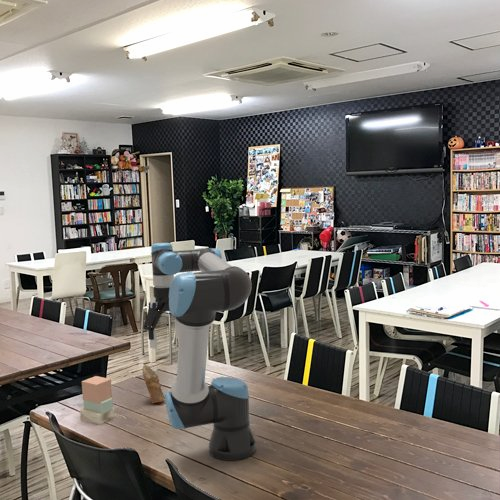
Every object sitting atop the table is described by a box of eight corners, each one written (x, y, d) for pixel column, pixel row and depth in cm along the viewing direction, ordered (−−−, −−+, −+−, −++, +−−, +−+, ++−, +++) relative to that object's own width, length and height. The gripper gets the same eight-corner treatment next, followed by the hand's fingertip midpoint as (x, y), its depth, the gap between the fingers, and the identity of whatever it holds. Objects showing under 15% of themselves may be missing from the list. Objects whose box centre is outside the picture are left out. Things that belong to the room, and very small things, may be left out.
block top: (93, 404, 220) (93, 394, 220) (113, 408, 215) (112, 398, 215) (84, 409, 216) (83, 398, 215) (103, 413, 211) (102, 403, 210)
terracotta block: (97, 393, 220) (95, 375, 220) (112, 397, 216) (110, 379, 215) (82, 399, 214) (81, 381, 214) (97, 403, 210) (96, 384, 209)
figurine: (163, 405, 227) (161, 368, 225) (142, 405, 227) (140, 368, 225) (166, 397, 235) (164, 361, 233) (147, 397, 235) (144, 362, 233)
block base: (97, 412, 222) (96, 402, 222) (115, 418, 217) (114, 407, 216) (80, 420, 216) (80, 410, 215) (99, 425, 210) (98, 415, 210)
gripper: (178, 279, 220) (181, 334, 222) (130, 291, 199) (134, 350, 202) (194, 281, 215) (196, 336, 218) (146, 292, 195) (150, 353, 197)
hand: (166, 343), depth 210 cm, fingers open, 13 cm apart
